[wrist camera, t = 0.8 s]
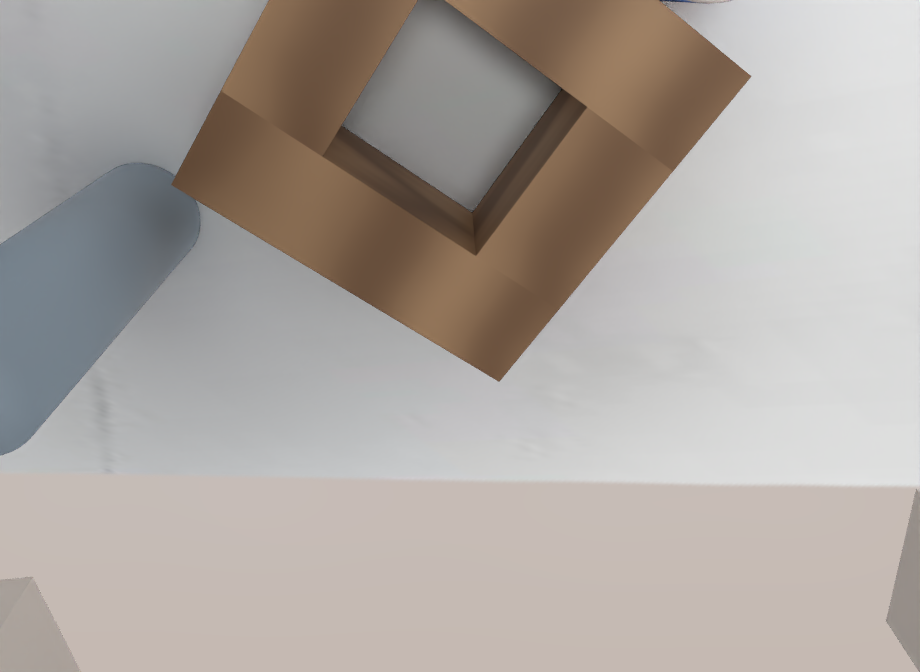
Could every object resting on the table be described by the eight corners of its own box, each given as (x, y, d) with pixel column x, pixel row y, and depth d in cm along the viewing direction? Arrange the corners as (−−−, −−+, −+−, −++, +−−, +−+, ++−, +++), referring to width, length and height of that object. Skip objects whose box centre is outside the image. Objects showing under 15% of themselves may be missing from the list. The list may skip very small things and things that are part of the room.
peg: (76, 228, 32) (-159, 407, 20) (118, 141, 31) (-109, 277, 18) (173, 282, 33) (8, 483, 21) (218, 201, 32) (69, 368, 19)
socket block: (211, 150, 31) (171, 184, 26) (398, -195, 26) (387, -224, 21) (492, 325, 34) (499, 381, 30) (705, 56, 29) (751, 76, 25)
